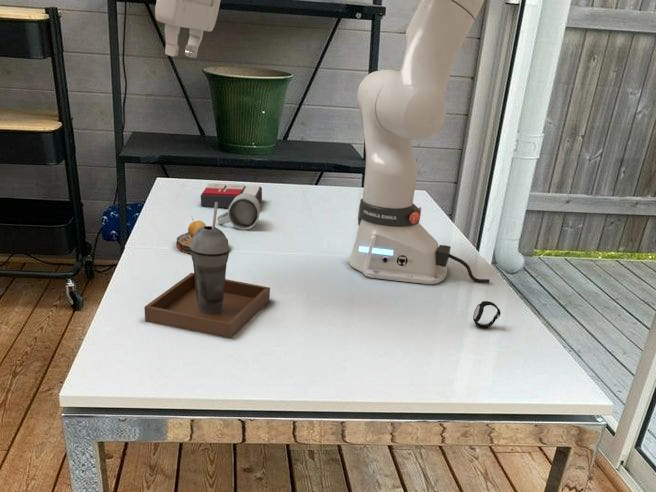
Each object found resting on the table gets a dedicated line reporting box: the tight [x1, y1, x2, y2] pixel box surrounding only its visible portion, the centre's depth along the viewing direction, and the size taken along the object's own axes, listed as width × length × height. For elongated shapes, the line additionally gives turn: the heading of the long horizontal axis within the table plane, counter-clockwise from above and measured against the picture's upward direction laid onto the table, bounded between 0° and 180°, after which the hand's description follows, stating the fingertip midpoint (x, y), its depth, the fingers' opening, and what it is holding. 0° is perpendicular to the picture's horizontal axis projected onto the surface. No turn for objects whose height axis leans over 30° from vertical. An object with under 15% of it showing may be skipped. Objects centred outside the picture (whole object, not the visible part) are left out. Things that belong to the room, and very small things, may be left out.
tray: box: [144, 272, 271, 340], centre depth 145 cm, size 17×20×3 cm
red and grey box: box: [200, 182, 263, 209], centre depth 206 cm, size 11×4×15 cm
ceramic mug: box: [216, 193, 261, 231], centre depth 190 cm, size 11×8×8 cm
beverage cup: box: [190, 202, 230, 314], centre depth 140 cm, size 7×7×20 cm
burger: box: [175, 217, 229, 254], centre depth 174 cm, size 12×12×8 cm
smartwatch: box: [472, 300, 502, 330], centre depth 148 cm, size 4×5×5 cm
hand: (180, 56), depth 134 cm, fingers open, 8 cm apart
